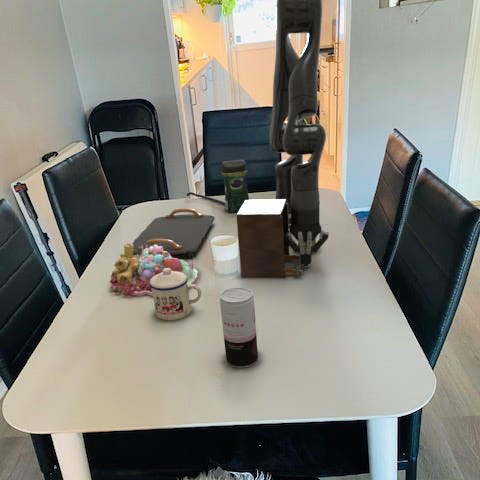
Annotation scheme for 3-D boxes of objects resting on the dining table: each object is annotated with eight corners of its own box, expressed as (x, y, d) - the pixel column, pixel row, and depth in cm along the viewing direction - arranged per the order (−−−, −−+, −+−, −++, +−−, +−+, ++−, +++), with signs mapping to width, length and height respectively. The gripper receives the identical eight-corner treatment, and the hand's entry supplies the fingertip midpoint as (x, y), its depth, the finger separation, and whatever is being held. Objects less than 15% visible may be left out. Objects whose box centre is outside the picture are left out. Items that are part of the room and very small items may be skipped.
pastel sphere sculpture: (100, 300, 132) (92, 268, 127) (121, 265, 152) (115, 236, 148) (193, 295, 130) (189, 262, 126) (202, 260, 151) (198, 231, 146)
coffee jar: (248, 205, 197) (245, 157, 188) (251, 211, 190) (247, 161, 181) (224, 207, 196) (219, 159, 187) (226, 213, 189) (221, 164, 180)
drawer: (306, 258, 145) (306, 253, 144) (302, 277, 134) (302, 271, 133) (259, 258, 148) (258, 252, 147) (251, 276, 137) (251, 271, 136)
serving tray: (194, 262, 150) (192, 243, 146) (122, 263, 153) (118, 244, 150) (218, 220, 183) (216, 204, 180) (158, 222, 186) (155, 206, 183)
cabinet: (289, 259, 146) (287, 199, 137) (284, 278, 135) (282, 213, 126) (249, 259, 148) (245, 199, 140) (241, 277, 137) (236, 214, 129)
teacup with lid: (151, 322, 119) (143, 278, 113) (159, 304, 127) (151, 262, 121) (201, 320, 118) (195, 275, 112) (205, 302, 126) (200, 260, 120)
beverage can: (235, 348, 106) (229, 285, 99) (263, 354, 103) (259, 289, 96) (220, 364, 101) (212, 299, 94) (249, 371, 98) (243, 304, 91)
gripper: (331, 200, 132) (330, 260, 141) (281, 201, 135) (284, 260, 144) (330, 208, 126) (329, 271, 135) (278, 209, 129) (281, 270, 137)
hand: (305, 265), depth 139 cm, fingers closed
